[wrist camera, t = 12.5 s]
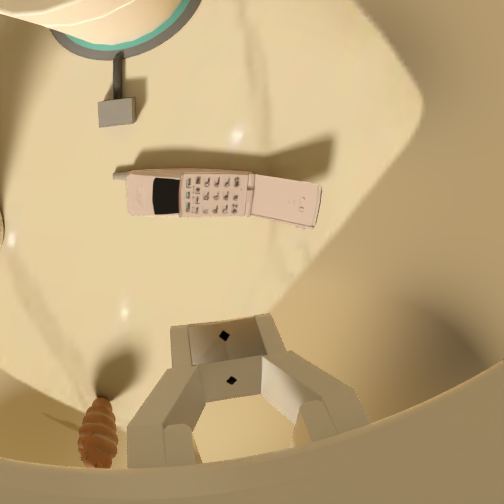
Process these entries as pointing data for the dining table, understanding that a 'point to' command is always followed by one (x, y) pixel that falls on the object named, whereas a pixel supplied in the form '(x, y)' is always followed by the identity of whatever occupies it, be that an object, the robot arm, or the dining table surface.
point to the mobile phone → (220, 195)
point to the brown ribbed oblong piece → (98, 435)
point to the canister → (94, 17)
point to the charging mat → (124, 108)
